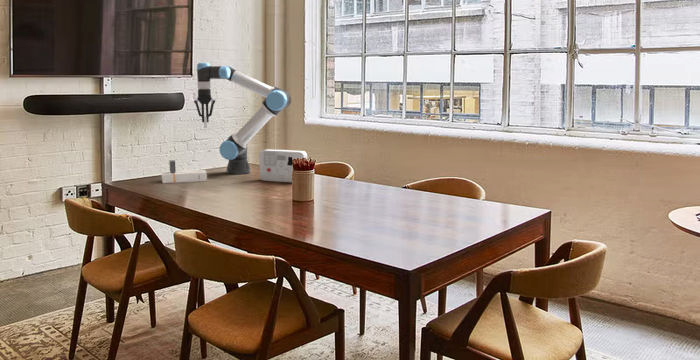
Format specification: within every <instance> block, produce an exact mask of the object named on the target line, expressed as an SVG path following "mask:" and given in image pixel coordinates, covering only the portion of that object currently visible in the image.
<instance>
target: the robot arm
mask: <svg viewBox="0 0 700 360" xmlns="http://www.w3.org/2000/svg"><path fill="white" fill-rule="evenodd" d="M196 72H197V73H196V74H197V88H198V89H197V97H196V99H195V100H193V103H194V104H195V106H196V110H197V114H198V116H199V117H201V122H202V123H203V128H204V129H208V123H209V117H212V115H213V110H214V105H215V103H216V100H215V99H212V95H211V94H212V93H211V92H212V91H211V80H227V81H229V82H231V83H234V84H236V85H239V86H240V87H242V88H245V89H247V90H249V91H251V92H252V93H255V94H257V95H259V96H261V97H263V98H265V99H264V100H263V101H262V103H261V107H260V108H259V109H258V110H257V111H256V112H255V113H254V114H253V116H251V118H250V119H248V121H246V123H245V124H243V126H242V127H241V128H240V129H239V130H237V132H236V133H231V135H230V136H228V137H227V139H226V140H224V141H223V142H221V144H220V145H219V155H220V156H221V158H223V159H224V160H228V163H227V167H226V170H225V171H226V174H229V175H245V174H250V173H251V167H250V163H249V160H248V143H249V142H250V140H251V139H253V138H254V137H255V135H256V134H257V133H258V132H259V131H260V130H261V129H263V127H264V126H265V125H266V124H267V122H269V121H270V120H271V119H272V118H273V117H277V116H278V115H279V114H280V113H281V112H282V111H283V110H285V109H287V108H288V107H290V105H291V102H292V96H291V95H290V93H289V92H288V91H287V90H286V89H282V88H279V87H278V86H271V85H268V84H267V83H264V82H262V81H260V80H258V79H256V78H255V77H252V76H249V75H247V74H245V73H243V72H241V71H238V70H236V69H234V68H233V67H231V66H230V65H226V66H225V65H216V66H215V65H214V66H213V65H211V64H210V63H209V62H198V63H197V65H196ZM210 103H211V105H210V109H209V104H210ZM199 104H200V105H201V107H200V106H199ZM200 108H201V110H200Z"/></svg>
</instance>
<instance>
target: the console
mask: <svg viewBox="0 0 700 360" xmlns="http://www.w3.org/2000/svg"><path fill="white" fill-rule="evenodd" d="M161 182H162V184H174V183H191V182H193V183H194V182H195V183H196V182H208V172H207V170H206V169H195V170H191V169H190V170H176V172H174V173H170V171H161Z"/></svg>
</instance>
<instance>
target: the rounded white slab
mask: <svg viewBox="0 0 700 360" xmlns="http://www.w3.org/2000/svg"><path fill="white" fill-rule="evenodd" d="M258 157H259V158H258V160H259V178H260V180H262V181H263V182H265V181H266V182H280V183H281V182H282V183H293V182H292V170H293V165H292V160H293V159H296V158H300V159H301V158H306V159H307V160H308V153H307V152H306V151H304V150H293V149H292V150H290V149H269V148H267V149H262V150H260V152H259V156H258Z"/></svg>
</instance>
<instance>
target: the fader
mask: <svg viewBox="0 0 700 360" xmlns="http://www.w3.org/2000/svg"><path fill="white" fill-rule="evenodd" d="M168 163H169V172H170V173H174V172H176V171H177V169H176V160H171V159H169V162H168Z"/></svg>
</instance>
